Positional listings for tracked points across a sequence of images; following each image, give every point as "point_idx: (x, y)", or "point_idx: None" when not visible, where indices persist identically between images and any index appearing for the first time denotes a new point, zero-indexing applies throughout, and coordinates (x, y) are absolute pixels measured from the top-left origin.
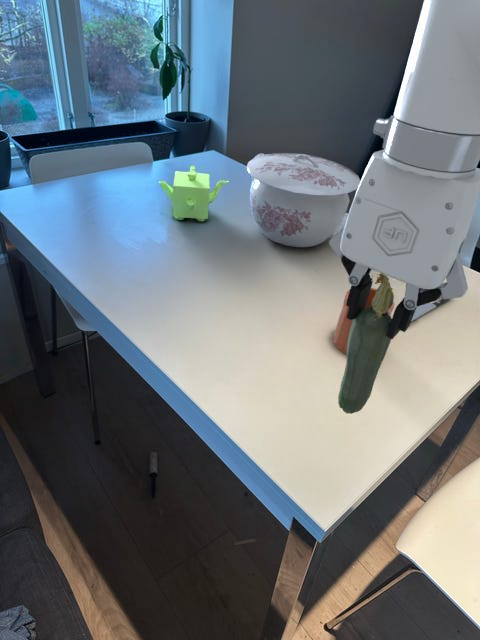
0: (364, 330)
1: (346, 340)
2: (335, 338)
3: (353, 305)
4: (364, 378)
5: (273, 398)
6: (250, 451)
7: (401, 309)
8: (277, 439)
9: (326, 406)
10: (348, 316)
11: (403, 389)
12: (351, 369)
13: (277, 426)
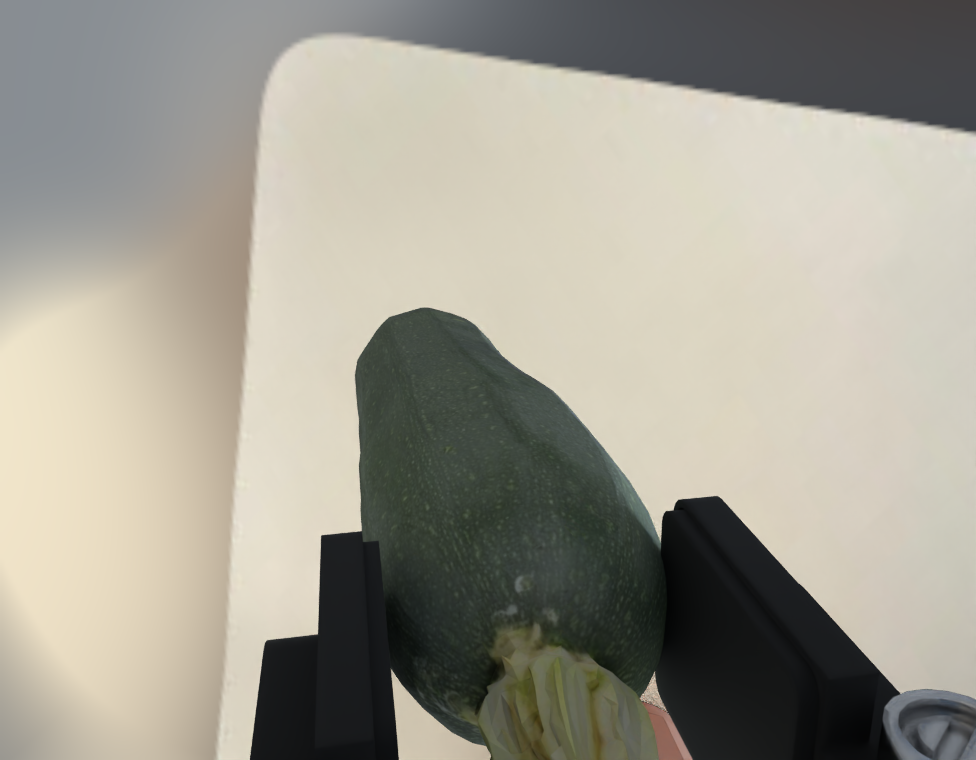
0: (538, 478)
1: None
2: (677, 730)
3: (747, 565)
4: (393, 364)
5: (697, 342)
6: (629, 86)
7: (329, 736)
8: (585, 201)
9: None
10: (709, 503)
11: None
12: (478, 354)
13: (617, 248)
